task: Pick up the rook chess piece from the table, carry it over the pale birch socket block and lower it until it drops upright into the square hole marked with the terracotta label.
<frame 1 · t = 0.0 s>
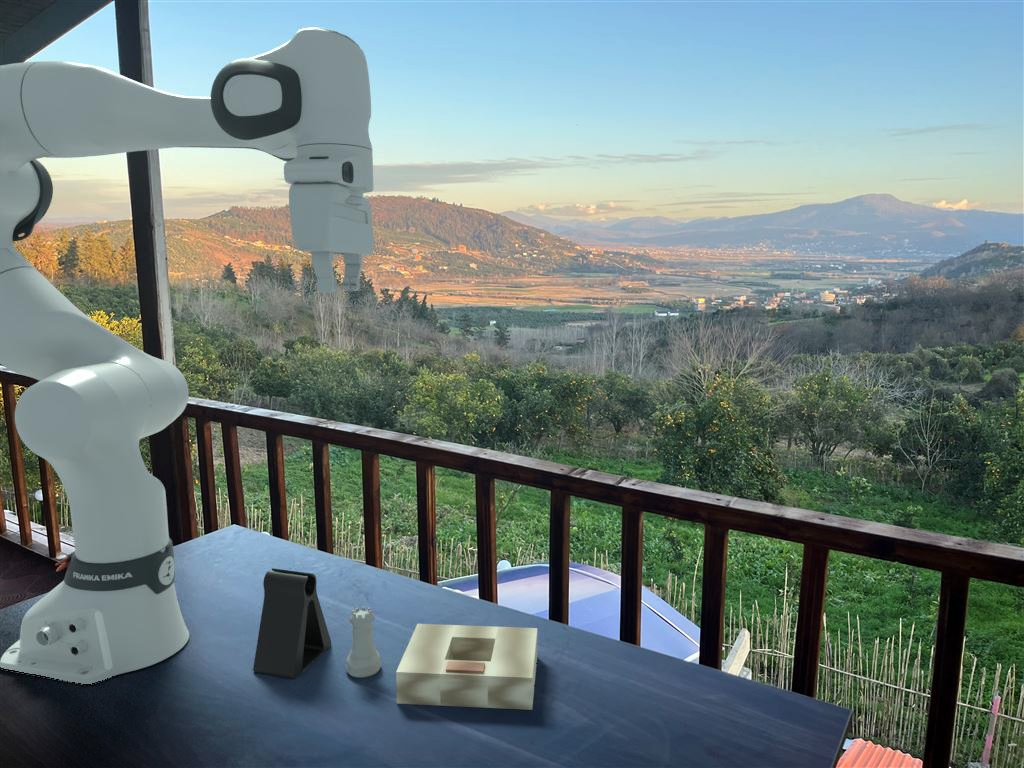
hand: (339, 291, 89), 48 cm above the table, tool pointing down, fingers open, 8 cm apart
rook chess piece: (363, 671, 93), on the table
socket block: (471, 678, 91), on the table
phone stand: (293, 660, 96), on the table
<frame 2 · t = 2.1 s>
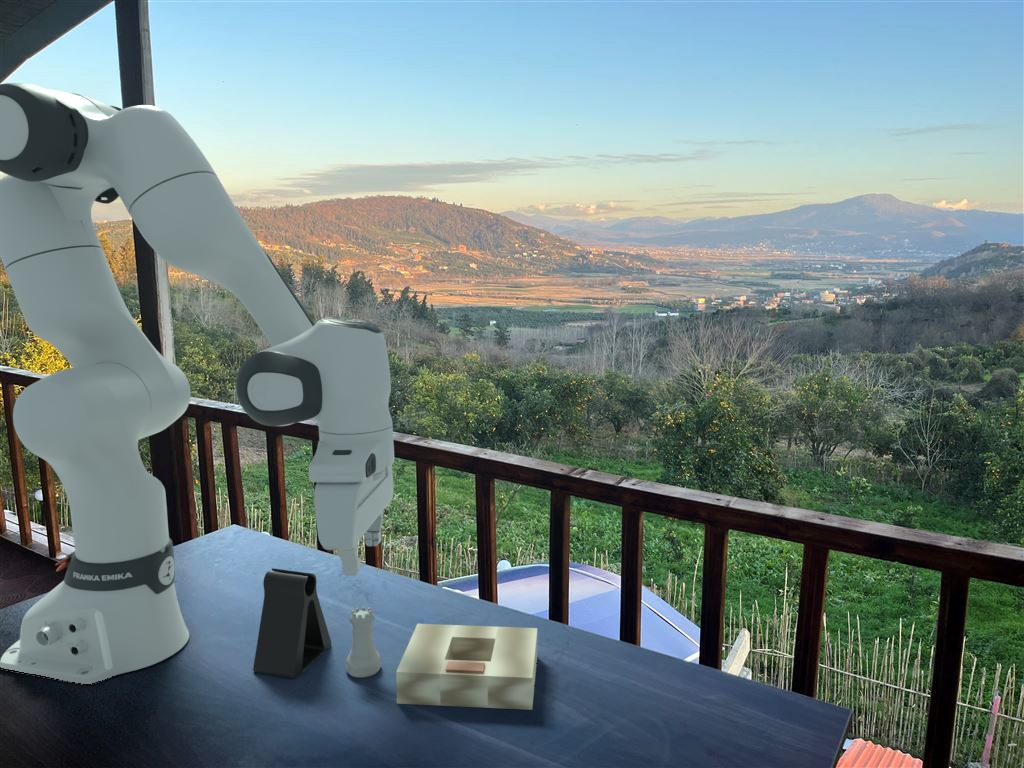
hand: (363, 558, 91), 15 cm above the table, tool pointing down, fingers open, 8 cm apart
nothing on the table moved.
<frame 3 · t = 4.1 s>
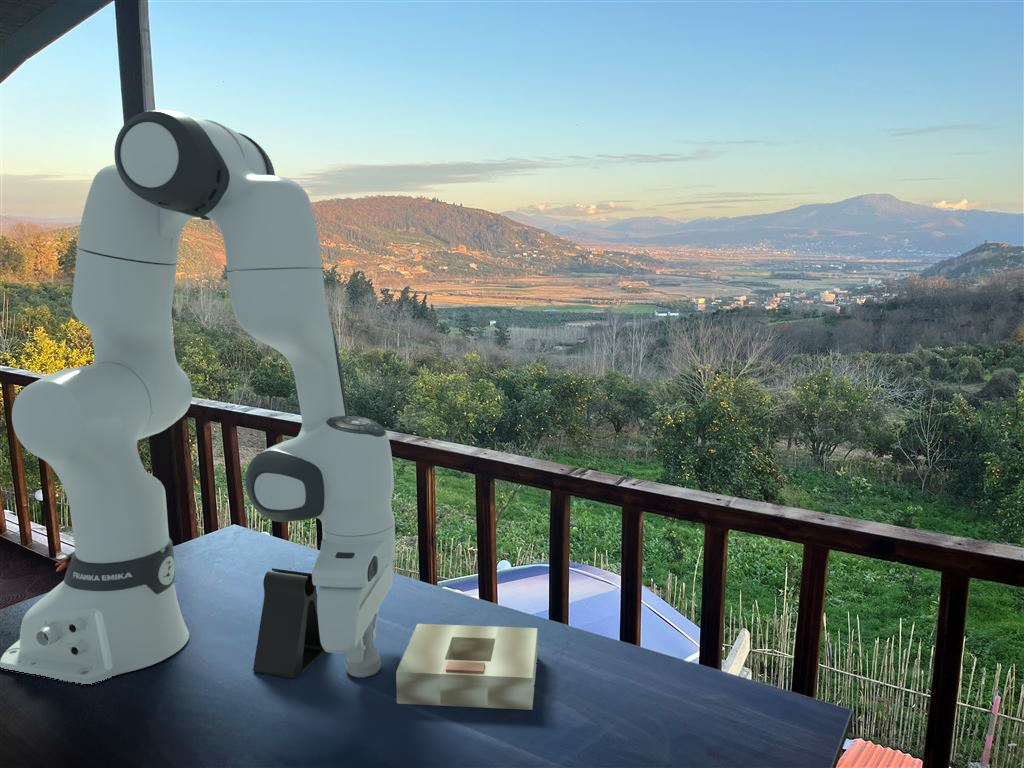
hand: (362, 650, 93), 3 cm above the table, tool pointing down, fingers closed on rook chess piece, 3 cm apart
rook chess piece: (363, 671, 93), on the table, touching gripper
everything else where it was.
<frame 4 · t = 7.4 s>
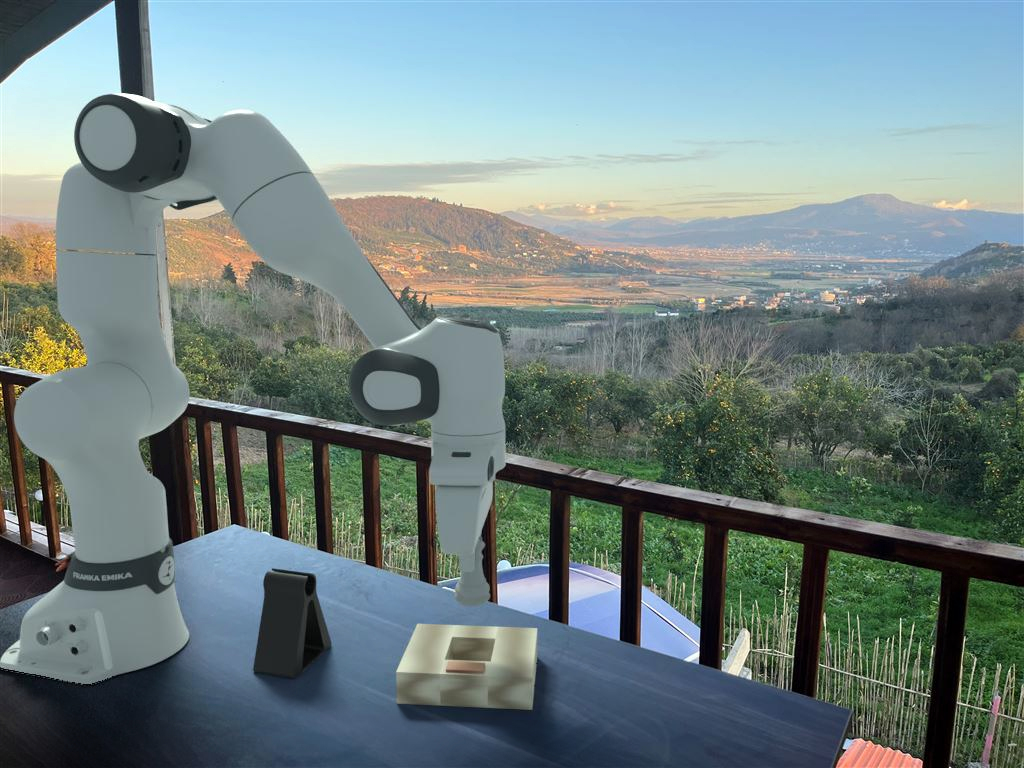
hand: (470, 562, 89), 15 cm above the table, tool pointing down, fingers closed on rook chess piece, 3 cm apart
rook chess piece: (472, 601, 90), point 10 cm above the table, touching gripper
everything else where it was.
when the fingers open (5 cm above the table, at t = 9.8 s): rook chess piece stays where it is, resting in socket block.
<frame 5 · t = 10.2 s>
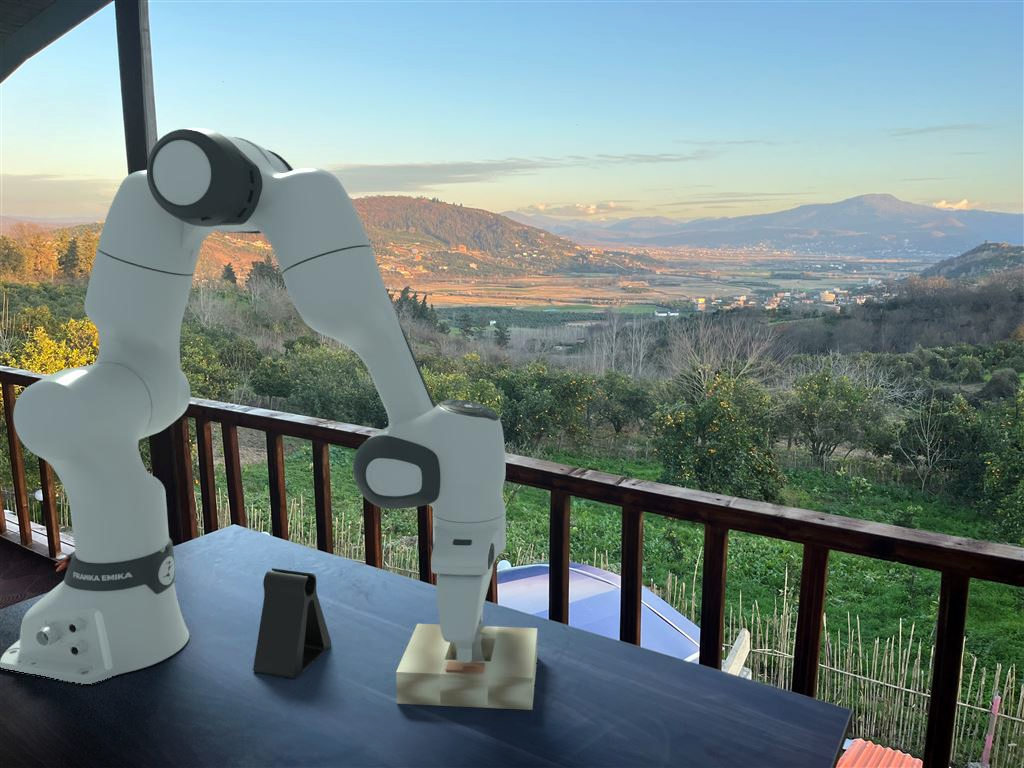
hand: (470, 640, 91), 5 cm above the table, tool pointing down, fingers open, 8 cm apart
rook chess piece: (471, 680, 91), resting in socket block
everything else where it was.
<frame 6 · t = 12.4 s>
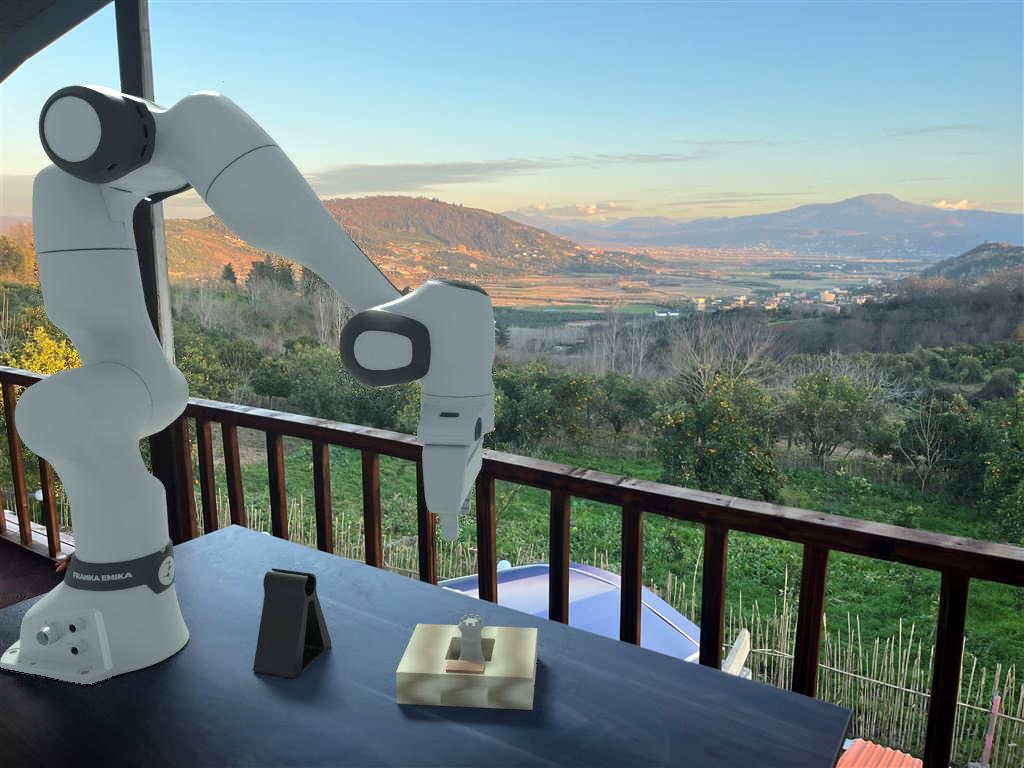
hand: (457, 525, 90), 20 cm above the table, tool pointing down, fingers open, 8 cm apart
nothing on the table moved.
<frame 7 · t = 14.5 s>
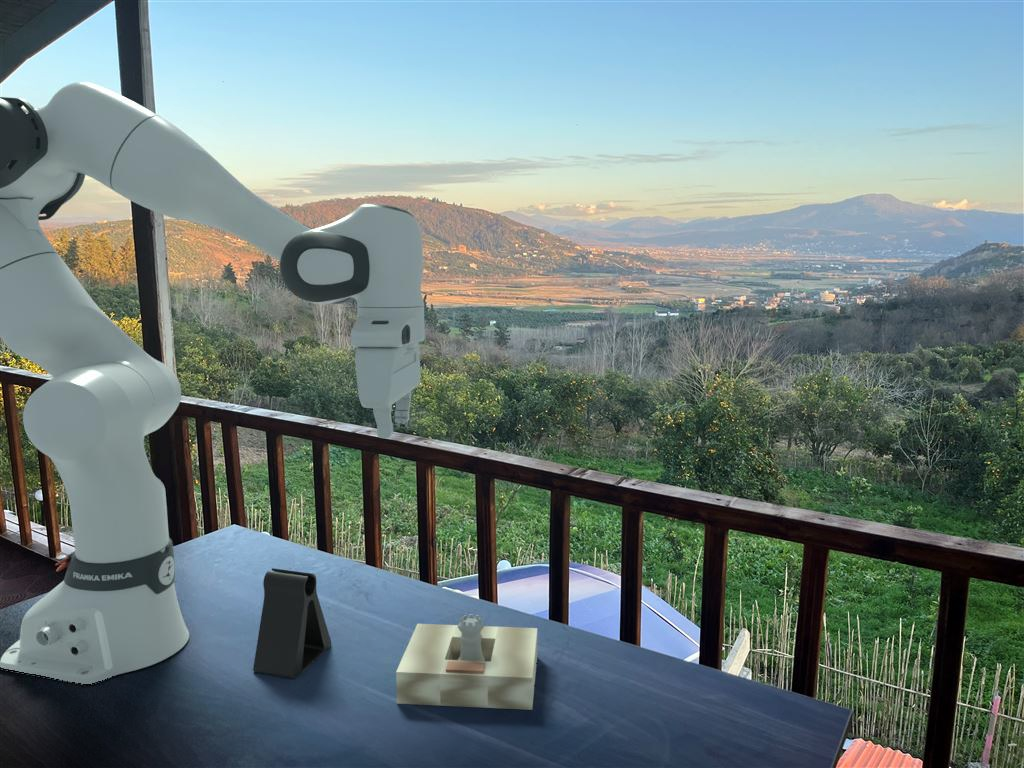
hand: (394, 429, 100), 29 cm above the table, tool pointing down, fingers open, 8 cm apart
nothing on the table moved.
at the end: rook chess piece 0.1 cm off-centre on the socket block, point 0.0 cm above the socket block's base; rook chess piece tilted 0°; the gripper is holding nothing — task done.
